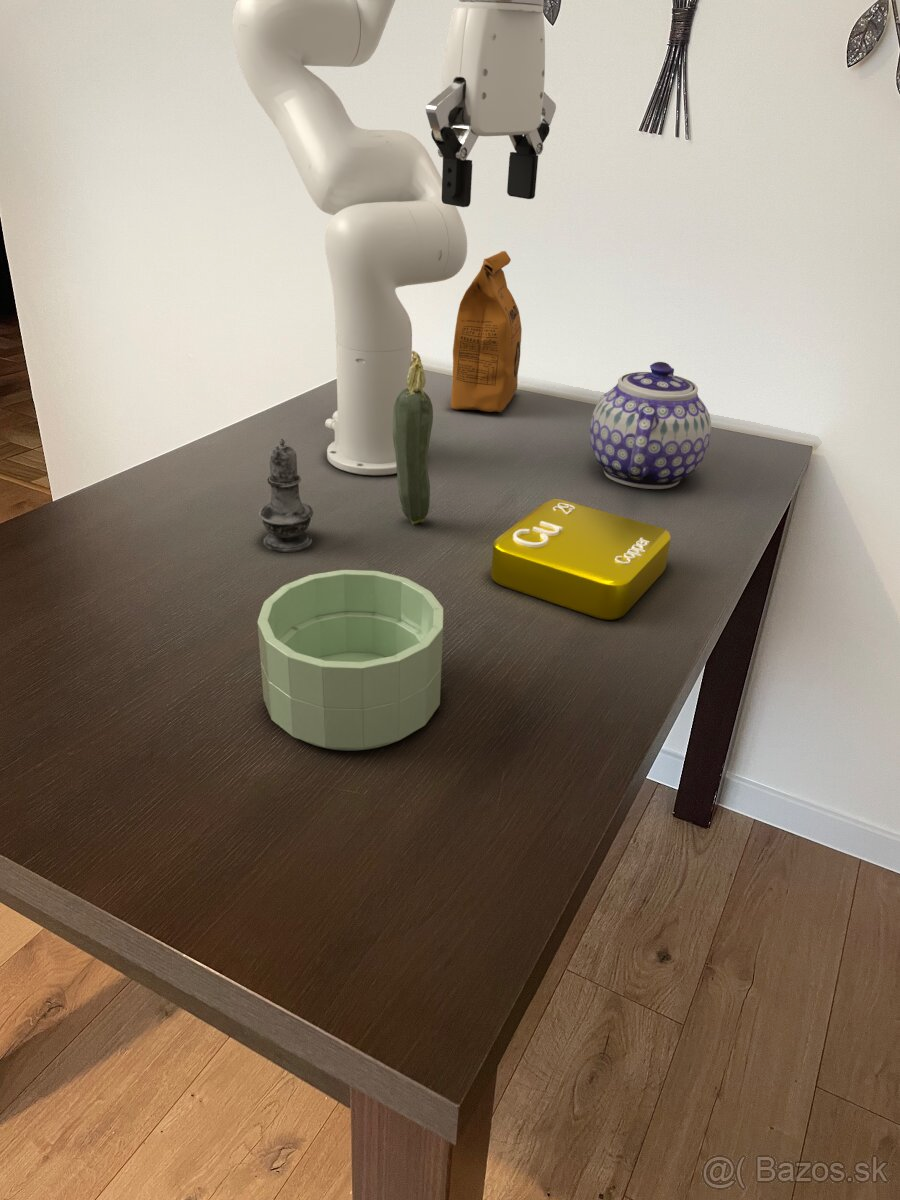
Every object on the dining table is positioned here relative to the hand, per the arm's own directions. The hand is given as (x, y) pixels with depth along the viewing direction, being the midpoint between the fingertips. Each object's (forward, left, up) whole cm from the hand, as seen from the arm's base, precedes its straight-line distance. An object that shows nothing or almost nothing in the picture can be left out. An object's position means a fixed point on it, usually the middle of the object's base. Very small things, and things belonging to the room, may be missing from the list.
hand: (489, 201), depth 90 cm
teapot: (+5, +28, -35) cm, 45 cm away
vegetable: (-4, -6, -35) cm, 36 cm away
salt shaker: (-10, -19, -35) cm, 41 cm away
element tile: (+16, 0, -35) cm, 39 cm away
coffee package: (-28, +32, -35) cm, 55 cm away
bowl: (+17, -32, -35) cm, 50 cm away
